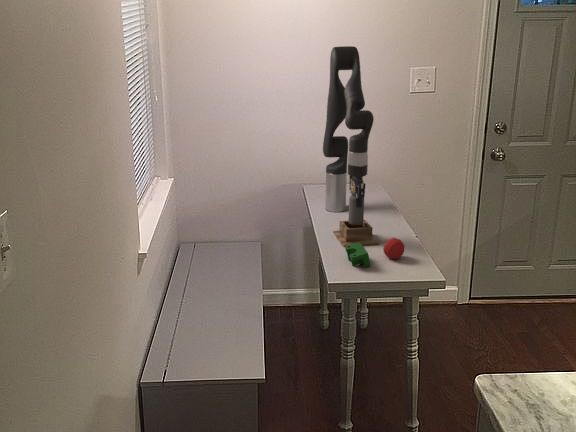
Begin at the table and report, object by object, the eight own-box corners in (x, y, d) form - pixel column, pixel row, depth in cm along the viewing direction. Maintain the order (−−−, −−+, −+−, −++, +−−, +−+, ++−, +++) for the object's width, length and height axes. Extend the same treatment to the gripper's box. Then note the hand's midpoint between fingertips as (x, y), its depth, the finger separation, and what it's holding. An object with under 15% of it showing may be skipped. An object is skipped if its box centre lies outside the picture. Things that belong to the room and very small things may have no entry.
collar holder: (333, 233, 271) (333, 219, 269) (366, 231, 273) (366, 217, 271) (343, 247, 256) (344, 232, 254) (378, 244, 258) (379, 230, 256)
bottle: (364, 221, 264) (366, 184, 259) (361, 226, 259) (362, 189, 254) (350, 219, 266) (351, 183, 261) (346, 224, 261) (347, 187, 256)
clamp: (350, 270, 246) (343, 246, 246) (366, 265, 246) (358, 242, 247) (355, 270, 234) (348, 245, 234) (371, 265, 234) (364, 240, 235)
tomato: (403, 239, 239) (390, 229, 245) (387, 254, 239) (375, 244, 244) (411, 252, 244) (398, 242, 250) (395, 266, 244) (383, 256, 250)
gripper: (343, 158, 261) (342, 200, 266) (353, 167, 248) (352, 210, 253) (361, 158, 262) (360, 199, 268) (372, 166, 249) (371, 209, 254)
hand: (356, 204), depth 260 cm, fingers closed on bottle, 6 cm apart
